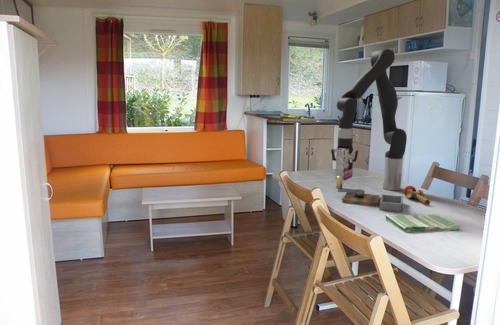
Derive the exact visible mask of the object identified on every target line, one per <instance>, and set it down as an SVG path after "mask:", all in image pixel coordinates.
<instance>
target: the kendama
mask: <svg viewBox="0 0 500 325" xmlns="http://www.w3.org/2000/svg"><path fill="white" fill-rule="evenodd" d="M403 194H404V195H405V197H406V198H408V199H412V198H416V200H419V201H420V202H421V203H422V204H423V205H424V206H428V205H430V203H431V200H430V199H428V198H426V197H424V195H425V193H424V191H423V190H422V189H419V190H417V189H416V187H414V186H413V185H407V186H406V187H405V188H404V189H403Z"/></svg>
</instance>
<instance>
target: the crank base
mask: <svg viewBox="0 0 500 325" xmlns="http://www.w3.org/2000/svg"><path fill="white" fill-rule="evenodd" d="M380 198H381V195H380V194H373V193H372V194H371V193H364V197H362V198H360V197H355V193H346V192H345V195H344V196H343V197H342V203H345V204H353V205H354V204H355V205H361V206H362V205H363V206H370V207H372V206H373V207H378V205H379V203H380V201H379V200H380Z"/></svg>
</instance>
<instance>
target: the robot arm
mask: <svg viewBox="0 0 500 325" xmlns="http://www.w3.org/2000/svg"><path fill="white" fill-rule="evenodd" d="M395 58H396V56H395V53H394V51H393V50H392V49H390V48H384V49H383V48H382V49H378V50H375V51H373V52H372V53H371V56H370V66H371V67H370V69H368V70H367V71H366V72H365V73H363V74H362V75H361V76H359V78H357V80H356V81H355V82H354V83H353V85H352V86H351V87H350V89H348V90H347V91H346V92H345V93H343V95H341V96H340V97H339V98H338V99H337V103H336V107H337V108H336V109H338V111H340V112H343V115H342V116H340V117H339V118H338V131H337V147H336V148H331V158H332V161H335V162H336V149H338V148H349V152H348V158H349V160H350V168H349V170H351V169H352V168H354V167H353V165H354V162H355V163H356V162H357V160H358V154H359V149H355V148H354V147H353V144H354V143H353V140H354V139H353V138H354V128H353V127H354V119H355V115H356V111H357V101H356V100H359V99H361V98H362V97H363V96H364V94H365V93H366V92H367V90H368V89H369V88H370V87H371V86H372V84H373V83H374V82H375V85H376V91H377V96H378V102H379V107H380V111H381V112H380V115H381V119H382V130H383V139H384V141H385V143H386V144H388V145H389V149H388V151H387V150H386V151H385V153H384V154H385V155H384V168H383V182H382V188H383V189H385V190H389V191H401V188H402V187H401V186H402V175H403V173H402V172H403V164H404V163H403V162H404V161H403V160H404V155H405V152H406V150H407V149H406V147H407V141H408V140H407V133H406V131H405V130H404V129H402V128H398V127H397V123H396V114H397V110H398V106H399V101H398V95H397V90H396V87H395V86H394V85H393V82H392V81H391V80H390V78H389V76H388V73H387V70H388V69H389V68H390V67H391V66H392V65H393V64H394V63H395V62H394V61H395ZM352 152H353V155H354V156H353V159H352V157H351V155H350V154H351V153H352Z"/></svg>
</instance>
